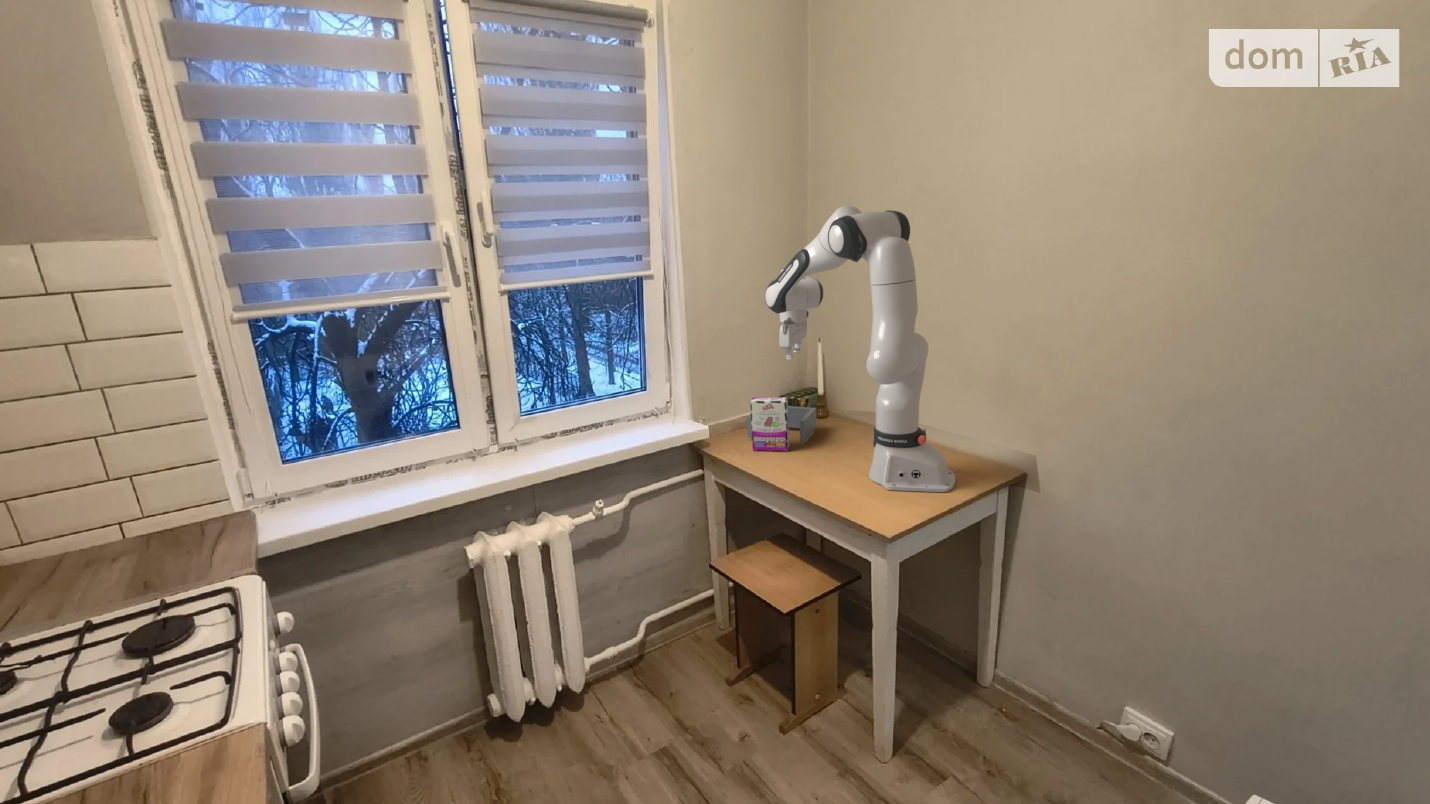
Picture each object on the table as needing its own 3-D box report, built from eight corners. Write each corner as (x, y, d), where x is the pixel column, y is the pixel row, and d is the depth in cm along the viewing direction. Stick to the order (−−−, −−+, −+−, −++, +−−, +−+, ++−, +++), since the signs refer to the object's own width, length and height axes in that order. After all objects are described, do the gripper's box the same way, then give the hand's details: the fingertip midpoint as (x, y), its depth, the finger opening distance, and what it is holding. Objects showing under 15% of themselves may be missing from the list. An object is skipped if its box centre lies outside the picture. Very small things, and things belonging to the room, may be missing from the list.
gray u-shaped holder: (816, 429, 212) (816, 408, 210) (804, 444, 200) (804, 421, 197) (762, 425, 219) (761, 404, 217) (748, 438, 207) (747, 416, 205)
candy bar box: (789, 446, 200) (788, 396, 196) (788, 452, 196) (786, 401, 191) (754, 445, 203) (752, 396, 198) (752, 451, 198) (750, 401, 193)
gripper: (793, 321, 201) (793, 363, 205) (810, 310, 219) (810, 350, 223) (773, 320, 203) (774, 362, 207) (792, 310, 221) (792, 349, 225)
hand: (793, 356), depth 215 cm, fingers open, 8 cm apart
